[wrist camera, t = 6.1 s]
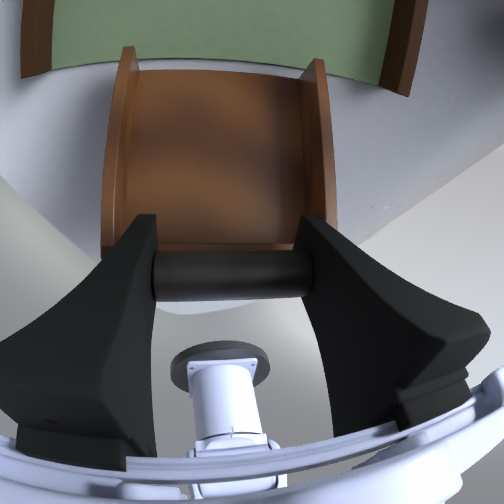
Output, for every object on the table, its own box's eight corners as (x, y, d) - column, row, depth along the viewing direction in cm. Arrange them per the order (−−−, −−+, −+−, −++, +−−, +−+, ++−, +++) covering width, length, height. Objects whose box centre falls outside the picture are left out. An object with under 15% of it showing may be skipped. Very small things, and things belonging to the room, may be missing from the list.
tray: (312, 280, 16) (377, 294, 10) (117, 284, 14) (75, 304, 8) (304, 84, 16) (351, 26, 10) (130, 76, 14) (112, 5, 8)
